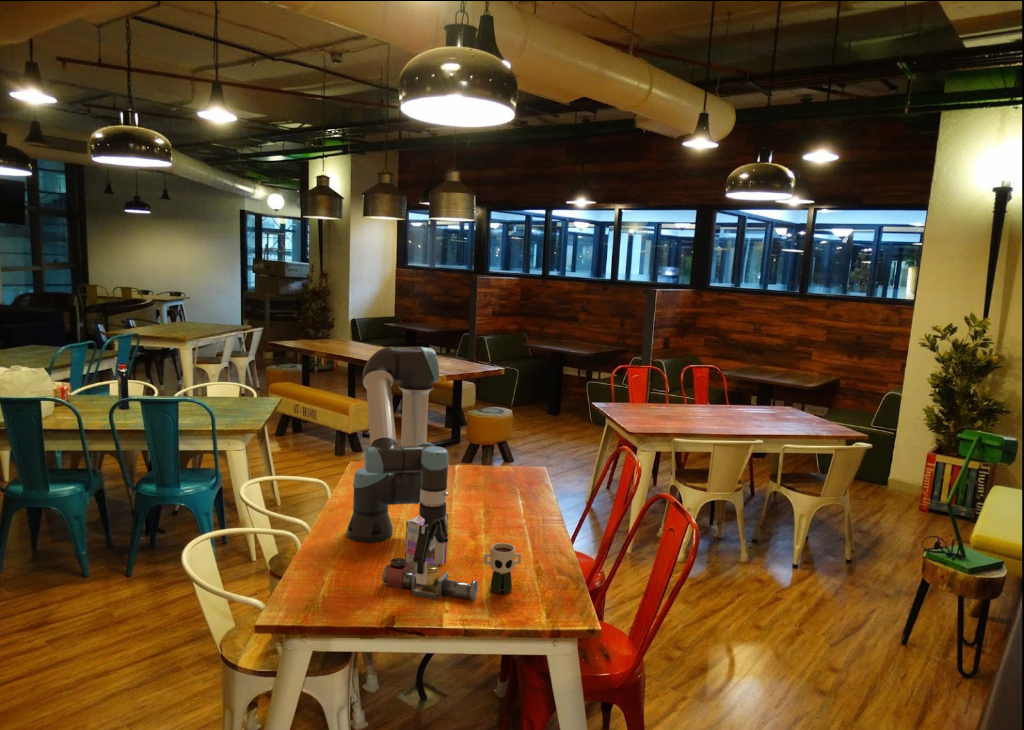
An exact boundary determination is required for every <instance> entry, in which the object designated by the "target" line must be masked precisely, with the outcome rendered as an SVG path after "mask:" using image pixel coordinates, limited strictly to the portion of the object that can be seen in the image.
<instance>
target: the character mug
mask: <svg viewBox="0 0 1024 730" xmlns="http://www.w3.org/2000/svg"><path fill="white" fill-rule="evenodd" d="M488 557H490V559H489V560H488ZM516 557H517V560H516V559H515V558H516ZM483 564H484V565H489V567H490V568H491V571H493V572H492V575H491V579H490V580H491V581H490V586H489V587H490V590H491V591H492V592H494V593H498V594H501V592H502V591H503V594H506V593H510V592H511V591H512V590H513V589H512V586H513V585H512V583H513V582H512V581H513V580H512V573H511V572H512V571H513V570H514V569H515V565H520V564H522V553H518V552H517V553H516V547H515V546H514V545H513V544H511V543H508V542H506V543H505V542H497V543H494V544H492V545H491V548H490V553H484V555H483Z"/></svg>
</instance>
